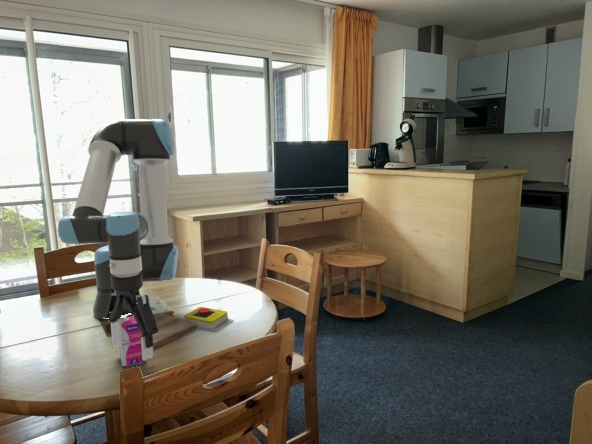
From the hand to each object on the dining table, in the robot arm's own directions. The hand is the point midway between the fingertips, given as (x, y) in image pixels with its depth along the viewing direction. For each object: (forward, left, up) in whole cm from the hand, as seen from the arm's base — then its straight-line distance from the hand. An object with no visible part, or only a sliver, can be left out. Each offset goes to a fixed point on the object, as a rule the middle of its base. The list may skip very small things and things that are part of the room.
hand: (132, 351), depth 113 cm
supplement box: (0, 0, -3) cm, 3 cm away
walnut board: (-10, +15, -3) cm, 18 cm away
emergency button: (-4, +29, -4) cm, 30 cm away
